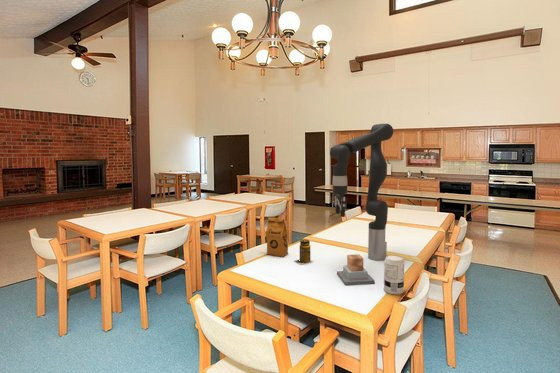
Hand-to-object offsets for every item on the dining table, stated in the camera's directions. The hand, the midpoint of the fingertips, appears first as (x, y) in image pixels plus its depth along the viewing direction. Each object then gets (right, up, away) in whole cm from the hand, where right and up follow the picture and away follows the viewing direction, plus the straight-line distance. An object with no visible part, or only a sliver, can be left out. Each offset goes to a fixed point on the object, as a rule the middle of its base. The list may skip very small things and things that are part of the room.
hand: (340, 215), depth 176 cm
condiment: (-18, -27, +11) cm, 35 cm away
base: (+5, -29, -14) cm, 33 cm away
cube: (+5, -24, -15) cm, 29 cm away
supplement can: (+18, -31, -29) cm, 46 cm away
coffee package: (-33, -26, +25) cm, 49 cm away
